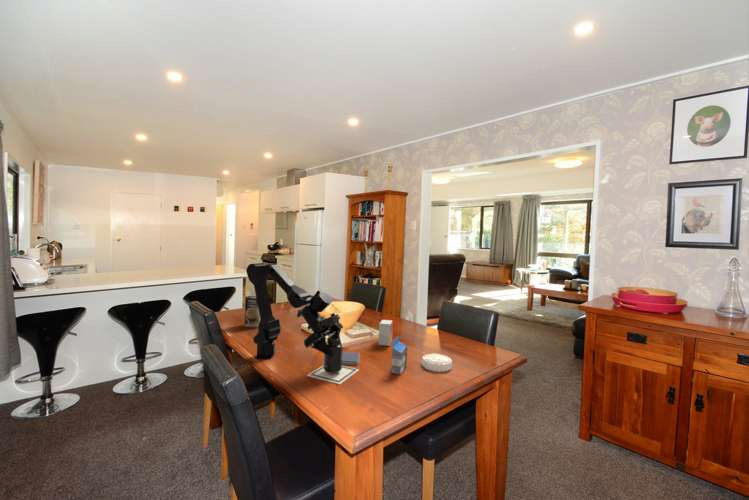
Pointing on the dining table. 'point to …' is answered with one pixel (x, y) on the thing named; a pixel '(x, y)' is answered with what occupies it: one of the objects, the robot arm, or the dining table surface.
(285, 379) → the dining table surface
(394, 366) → the label tape cartridge
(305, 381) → the dining table surface
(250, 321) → the coffee box
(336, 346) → the supplement bottle
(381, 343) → the small box
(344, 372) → the marked card
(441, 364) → the mooncake
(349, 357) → the pad
